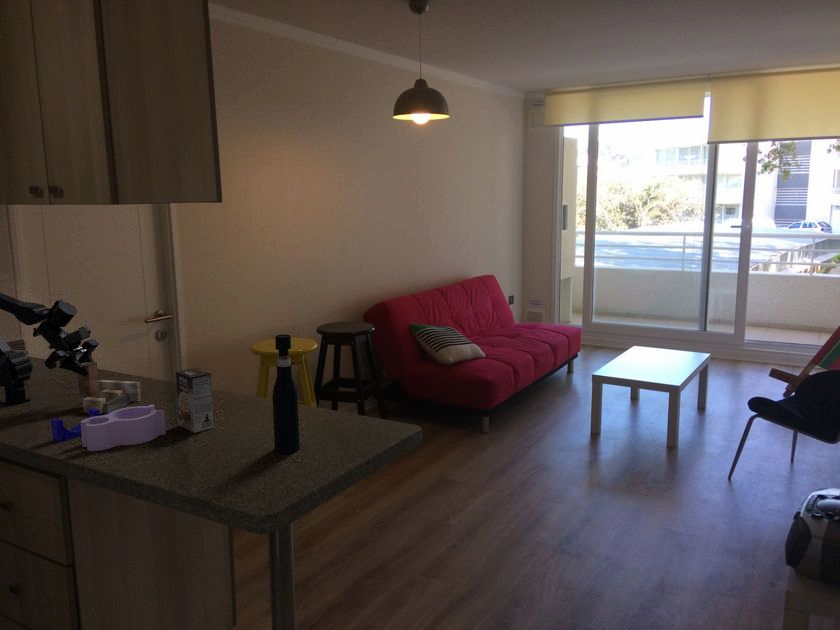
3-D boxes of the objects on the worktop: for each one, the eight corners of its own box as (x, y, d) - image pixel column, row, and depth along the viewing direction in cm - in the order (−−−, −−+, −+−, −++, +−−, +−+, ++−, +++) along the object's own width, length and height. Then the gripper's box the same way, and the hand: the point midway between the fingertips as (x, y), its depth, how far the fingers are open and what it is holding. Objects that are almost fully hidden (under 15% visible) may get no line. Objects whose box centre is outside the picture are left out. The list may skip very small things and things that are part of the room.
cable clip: (92, 427, 194) (90, 407, 193) (101, 430, 191) (99, 410, 190) (50, 440, 184) (47, 418, 183) (58, 443, 182) (56, 421, 181)
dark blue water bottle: (287, 455, 172) (283, 339, 167) (269, 450, 175) (264, 336, 170) (304, 447, 177) (301, 335, 172) (286, 443, 181) (282, 332, 176)
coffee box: (177, 425, 194) (174, 371, 192) (198, 420, 199) (195, 367, 196) (194, 433, 188) (190, 377, 185) (215, 427, 193) (212, 372, 190)
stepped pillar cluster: (72, 411, 208) (70, 392, 206) (102, 397, 221) (100, 379, 220) (113, 414, 205) (111, 394, 204) (141, 400, 219) (139, 382, 218)
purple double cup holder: (93, 455, 173) (91, 429, 172) (77, 443, 182) (75, 418, 181) (170, 436, 186) (168, 412, 185) (151, 425, 195) (150, 402, 194)
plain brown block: (79, 396, 210) (76, 365, 208) (88, 392, 214) (85, 361, 212) (91, 397, 209) (88, 365, 208) (99, 393, 213) (96, 362, 212)
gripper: (49, 325, 199) (86, 363, 199) (91, 314, 217) (125, 349, 217) (28, 350, 202) (65, 388, 202) (71, 337, 220) (105, 372, 220)
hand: (91, 373), depth 210 cm, fingers closed on plain brown block, 4 cm apart
